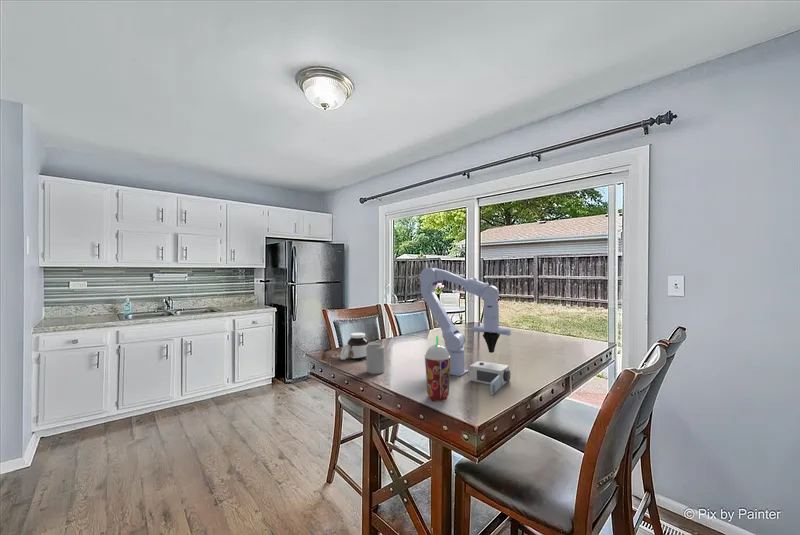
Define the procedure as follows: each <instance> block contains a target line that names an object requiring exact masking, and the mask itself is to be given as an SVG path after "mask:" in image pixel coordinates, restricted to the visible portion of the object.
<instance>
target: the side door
mask: <svg viewBox="0 0 800 535" xmlns="http://www.w3.org/2000/svg"><path fill="white" fill-rule="evenodd" d="M501 386H502V379H501V375H500V374H499V375H498V376H497V377H496V378H495V379H494V380H493V381H492V382H491V383H490V384H489V395H491V396H493V395H494V394H495V393H496V392H497V391H498V390H499V389H500V388H502V387H503V386H502V387H501Z"/></svg>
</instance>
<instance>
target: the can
mask: <svg viewBox="0 0 800 535" xmlns="http://www.w3.org/2000/svg"><path fill="white" fill-rule="evenodd" d="M385 350H386V349H385V346H384V343H383V342H382V341H370V342H368V346H367V347H366V359H365V360H366V366H365V367H366V372H368V374H369V373H371V374H370V375H381V374H383V373H384V372H385V369H386V363H385V359H386V356H385V354H386V352H385Z"/></svg>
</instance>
